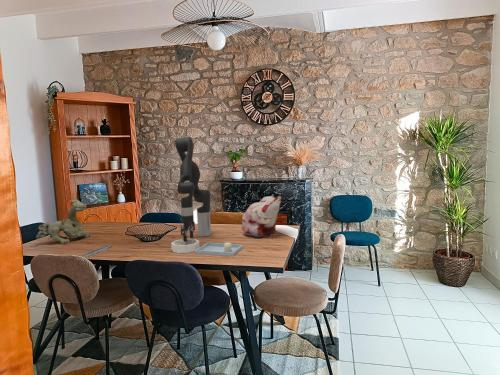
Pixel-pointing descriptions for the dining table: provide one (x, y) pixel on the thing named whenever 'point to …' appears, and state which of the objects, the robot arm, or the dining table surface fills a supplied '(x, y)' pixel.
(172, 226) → the dining table surface
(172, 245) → the bowl
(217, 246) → the tray
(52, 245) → the dining table surface
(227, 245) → the stone sand
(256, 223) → the sculpture
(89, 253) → the plaque
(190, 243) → the stone slate
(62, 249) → the dining table surface
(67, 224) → the sculpture
